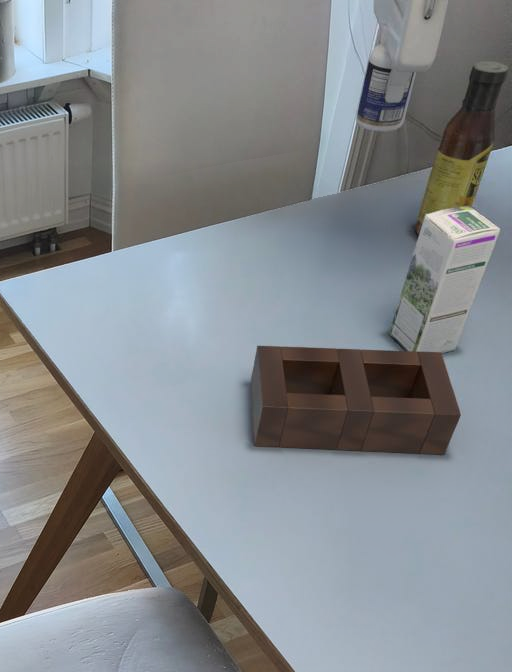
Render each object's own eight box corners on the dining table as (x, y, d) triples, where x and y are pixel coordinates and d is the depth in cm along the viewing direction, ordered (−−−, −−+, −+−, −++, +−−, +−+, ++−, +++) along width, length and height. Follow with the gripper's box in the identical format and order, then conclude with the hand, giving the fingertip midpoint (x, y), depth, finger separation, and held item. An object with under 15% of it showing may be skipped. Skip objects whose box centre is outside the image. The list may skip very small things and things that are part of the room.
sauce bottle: (460, 247, 117) (520, 79, 101) (411, 241, 118) (463, 75, 103) (461, 224, 121) (519, 59, 105) (414, 219, 122) (464, 55, 107)
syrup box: (456, 350, 102) (505, 227, 91) (411, 360, 101) (455, 236, 90) (429, 325, 106) (472, 202, 94) (385, 334, 105) (423, 212, 93)
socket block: (426, 391, 97) (441, 351, 94) (444, 454, 91) (461, 414, 87) (249, 384, 99) (257, 345, 95) (254, 446, 92) (262, 406, 89)
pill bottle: (365, 110, 104) (388, 13, 97) (410, 119, 102) (436, 21, 95) (347, 126, 102) (369, 28, 94) (392, 136, 100) (418, 36, 92)
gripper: (478, -36, 82) (431, 125, 92) (441, -91, 94) (404, 56, 105) (407, -35, 82) (369, 125, 93) (380, -90, 95) (349, 56, 106)
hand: (387, 88), depth 99 cm, fingers closed on pill bottle, 5 cm apart
